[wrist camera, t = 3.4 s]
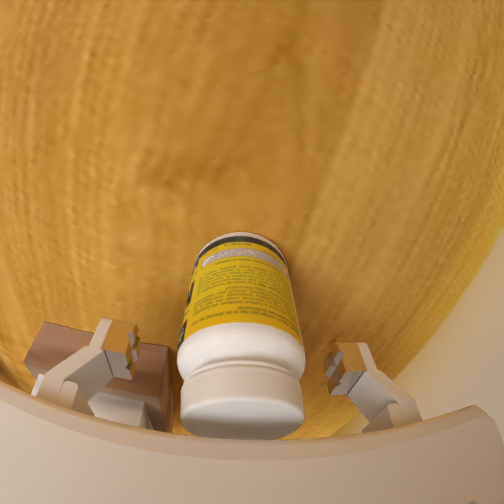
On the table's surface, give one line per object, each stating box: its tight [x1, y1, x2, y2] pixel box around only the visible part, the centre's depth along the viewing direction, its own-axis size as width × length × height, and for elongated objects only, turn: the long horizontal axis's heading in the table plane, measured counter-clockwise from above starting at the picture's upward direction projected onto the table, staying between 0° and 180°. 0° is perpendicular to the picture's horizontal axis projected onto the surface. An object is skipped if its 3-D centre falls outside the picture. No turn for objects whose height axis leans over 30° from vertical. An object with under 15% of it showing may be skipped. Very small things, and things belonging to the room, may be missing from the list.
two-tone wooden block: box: [24, 322, 175, 433], centre depth 17 cm, size 10×10×8 cm
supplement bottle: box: [177, 232, 306, 440], centre depth 11 cm, size 5×5×8 cm
